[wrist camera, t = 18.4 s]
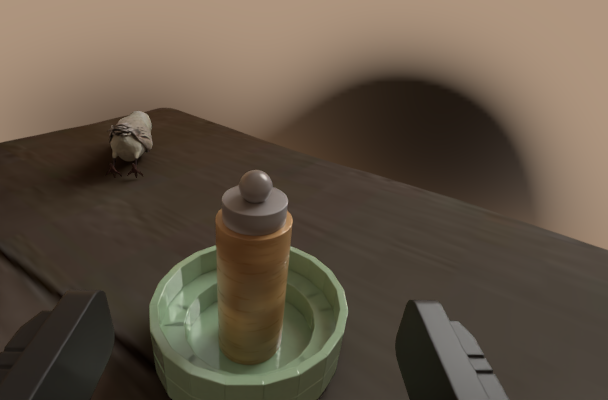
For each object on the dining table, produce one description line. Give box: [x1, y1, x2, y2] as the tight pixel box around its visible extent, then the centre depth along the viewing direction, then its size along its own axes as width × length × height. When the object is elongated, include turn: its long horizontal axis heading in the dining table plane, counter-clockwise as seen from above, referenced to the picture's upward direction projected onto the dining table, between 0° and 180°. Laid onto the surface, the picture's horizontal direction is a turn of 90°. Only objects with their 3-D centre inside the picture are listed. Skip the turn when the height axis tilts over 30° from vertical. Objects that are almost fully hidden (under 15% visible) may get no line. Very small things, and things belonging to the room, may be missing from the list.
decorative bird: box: [105, 111, 152, 178], centre depth 55 cm, size 5×16×8 cm, turn 11°
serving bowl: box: [149, 245, 348, 400], centre depth 28 cm, size 14×14×5 cm
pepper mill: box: [216, 170, 293, 365], centre depth 25 cm, size 5×5×14 cm
